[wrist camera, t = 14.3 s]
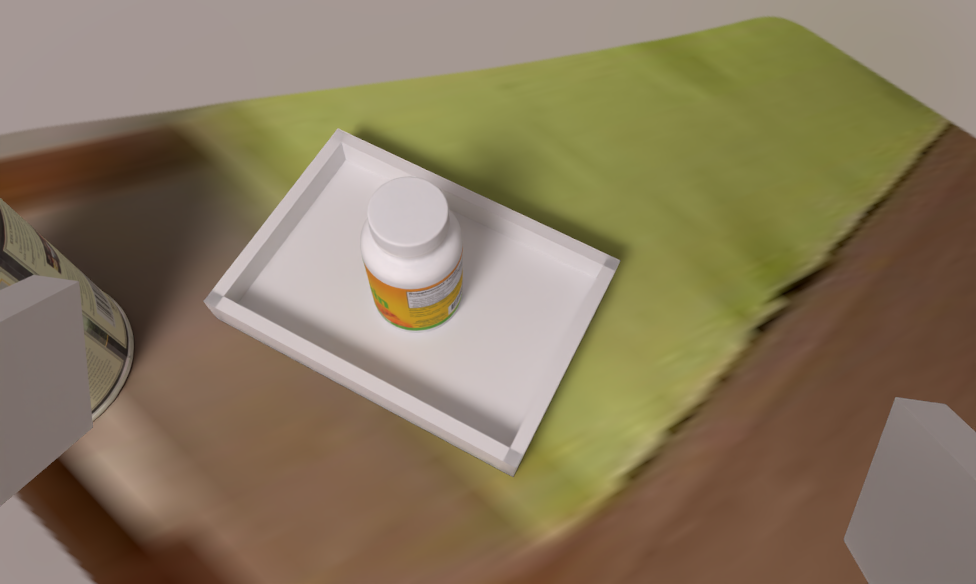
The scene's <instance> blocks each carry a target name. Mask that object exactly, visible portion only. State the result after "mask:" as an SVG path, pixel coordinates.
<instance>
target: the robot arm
mask: <svg viewBox="0 0 976 584" xmlns="http://www.w3.org/2000/svg"><path fill="white" fill-rule="evenodd" d="M92 428H93V421H92V411H91V401H90V390H89V380H88V369H87V359H86V348H85V338H84V327H83V317H82V306H81V296H80V285H79V281H74V280H66V279H59V278H52V277H45V276H38V275H32V276H30V277H28V278H26V279H24V280H21V281H19V282H17V283H15V284H13V285H11V286H8V287H6V288H4V289H2V290H0V506H1V505H2V504H4V503H5V502H6V501H7V500H8V499H10V498H11V497H12V496H13V495H14V494H15V493H17V492H18V491H19V490H20V489H21V488H22V487H24V486H25V485H26V484H27V483H28V482H29V481H31V480H32V479H33V478H34V477H35V476H36V475H38V474H39V473H40V472H41V471H42V470H44V469H45V468H46V467H47V466H48V465H49V464H51V463H52V462H53V461H54V460H55V459H56V458H58V457H59V456H60V455H61V454H62V453H63V452H65V451H66V450H67V449H68V448H69V447H71V446H72V445H73V444H74V443H75V442H76V441H78V440H79V439H80V438H81V437H82V436H83V435H85V434H86V433H87V432H88V431H89V430H90V429H92ZM844 542H845V543H846V545H847V547H848V549H849V550H850V552H851V554H852V555H853V557H854V559H855V561H856V562H857V564H858V566H859V567H860V569H861V571H862V573H863V574H864V576H865V578H866V580H867V581H868V583H869V584H976V432H975V431H974V430H973V429H972V428H971V427H970V426H968V425H967V424H966V423H965V422H964V421H963V420H962V419H961V418H960V417H959V416H958V415H957V414H956V413H955V412H953V411H952V410H951V409H950V408H949V407H948V406H947V405H946V404H941V403H934V402H926V401H919V400H912V399H905V398H898V397H895V400H894V403H893V406H892V408H891V411H890V414H889V417H888V419H887V422H886V425H885V428H884V430H883V433H882V436H881V439H880V441H879V444H878V447H877V450H876V452H875V455H874V458H873V460H872V463H871V466H870V469H869V471H868V474H867V477H866V480H865V482H864V485H863V488H862V491H861V493H860V496H859V499H858V502H857V504H856V507H855V510H854V513H853V515H852V518H851V521H850V524H849V526H848V529H847V532H846V534H845V537H844Z"/></svg>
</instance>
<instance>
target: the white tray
mask: <svg viewBox="0 0 976 584" xmlns="http://www.w3.org/2000/svg"><path fill="white" fill-rule="evenodd" d="M400 177H418V178H422V179H425V180H428V181H429V182H431V183H433V184H434V185H436V186H437V187H438V188H439V189H440V190H441V191H442V193H443V194H444V196H445V198H446V200H447V203H448V207H449V209H450V211H451V212H452V213H453V214H454V216H455V217H456V219H457V220H458V223H459V225H460V228H461V232H462V238H463V290H462V298H461V302H460V305H459V307H458V309H457V311H456V313H455V314H454V315H453V317H452V318H451V319H450V320H449V321H448V322H446V323H445V324H444V325H442V326H441V327H439V328H437V329H434V330H432V331H428V332H422V333H411V332H405V331H402V330H399V329H397V328H395V327H393V326H391V325H390V324H389V323H387V322H386V321H385V320H384V319H383V318H382V316H381V315H380V314H379V312H378V310H377V308H376V306H375V303H374V299H373V295H372V292H371V288H370V284H369V280H368V277H367V273H366V269H365V266H364V262H363V259H362V254H361V248H360V235H361V231H362V227H363V225H364V223H365V221H366V219H367V208H368V204H369V201H370V199H371V197H372V195H373V194H374V192H375V191H376V190H377V189H378V188H379V187H380V186H381V185H383V184H384V183H386V182H388V181H390V180H392V179H395V178H400ZM620 261H621V260H618V259H616V258H614V257H612V256H610V255H608V254H606V253H603V252H601V251H599V250H597V249H595V248H593V247H591V246H588V245H586V244H584V243H582V242H580V241H578V240H576V239H573V238H571V237H569V236H567V235H565V234H563V233H561V232H558V231H556V230H554V229H552V228H550V227H548V226H546V225H543V224H541V223H539V222H537V221H535V220H533V219H531V218H528V217H526V216H524V215H522V214H520V213H518V212H516V211H513V210H511V209H509V208H507V207H505V206H503V205H501V204H498V203H496V202H494V201H492V200H490V199H488V198H486V197H484V196H481V195H479V194H477V193H475V192H473V191H471V190H469V189H466V188H464V187H462V186H460V185H458V184H456V183H454V182H451V181H449V180H447V179H445V178H443V177H441V176H439V175H436V174H434V173H432V172H430V171H428V170H426V169H424V168H421V167H419V166H417V165H415V164H413V163H411V162H409V161H406V160H404V159H402V158H400V157H398V156H396V155H394V154H391V153H389V152H387V151H385V150H383V149H381V148H379V147H376V146H374V145H372V144H370V143H368V142H366V141H364V140H361V139H359V138H357V137H355V136H353V135H351V134H349V133H346V132H344V131H342V130H340V129H337V130H336V131H335V133H334V134H333V135H332V137H331V138H330V139H329V140H328V142H327V143H326V144H325V146H324V147H323V148H322V149H321V151H320V152H319V153H318V155H317V156H316V157H315V158H314V160H313V161H312V162H311V164H310V165H309V166H308V167H307V169H306V170H305V171H304V173H303V174H302V175H301V176H300V178H299V179H298V180H297V182H296V183H295V184H294V185H293V187H292V188H291V189H290V191H289V192H288V193H287V194H286V196H285V197H284V198H283V200H282V201H281V202H280V203H279V205H278V206H277V207H276V209H275V210H274V211H273V212H272V214H271V215H270V216H269V218H268V219H267V220H266V222H265V223H264V224H263V225H262V227H261V228H260V229H259V231H258V232H257V233H256V234H255V236H254V237H253V238H252V240H251V241H250V242H249V243H248V245H247V246H246V247H245V249H244V250H243V251H242V252H241V254H240V255H239V256H238V258H237V259H236V260H235V261H234V263H233V264H232V265H231V267H230V268H229V269H228V270H227V272H226V273H225V274H224V276H223V277H222V278H221V279H220V281H219V282H218V283H217V285H216V286H215V287H214V288H213V290H212V291H211V292H210V294H209V295H208V296H207V297H206V299H205V300H204V303H205V304H206V305H207V306H208V308H209V309H210V310H211V311H212V313H213V314H214V315H215V316H216V318H217V319H219V320H221V321H223V322H225V323H227V324H228V325H230V326H232V327H234V328H236V329H238V330H240V331H241V332H243V333H245V334H247V335H249V336H251V337H253V338H255V339H256V340H258V341H260V342H262V343H264V344H266V345H268V346H269V347H271V348H273V349H275V350H277V351H279V352H281V353H282V354H284V355H286V356H288V357H290V358H292V359H294V360H296V361H297V362H299V363H301V364H303V365H305V366H307V367H309V368H310V369H312V370H314V371H316V372H318V373H320V374H322V375H324V376H325V377H327V378H329V379H331V380H333V381H335V382H337V383H338V384H340V385H342V386H344V387H346V388H348V389H350V390H351V391H353V392H355V393H357V394H359V395H361V396H363V397H365V398H366V399H368V400H370V401H372V402H374V403H376V404H378V405H379V406H381V407H383V408H385V409H387V410H389V411H391V412H392V413H394V414H396V415H398V416H400V417H402V418H404V419H406V420H407V421H409V422H411V423H413V424H415V425H417V426H419V427H420V428H422V429H424V430H426V431H428V432H430V433H432V434H433V435H435V436H437V437H439V438H441V439H443V440H445V441H447V442H448V443H450V444H452V445H454V446H456V447H458V448H460V449H461V450H463V451H465V452H467V453H469V454H471V455H473V456H474V457H476V458H478V459H480V460H482V461H484V462H486V463H488V464H489V465H491V466H493V467H495V468H497V469H499V470H501V471H502V472H504V473H506V474H508V475H510V476H512V477H513V476H514V474H515V472H516V470H517V468H518V466H519V464H520V462H521V460H522V458H523V456H524V454H525V452H526V450H527V448H528V446H529V444H530V442H531V440H532V438H533V436H534V434H535V432H536V430H537V428H538V426H539V424H540V422H541V420H542V418H543V416H544V414H545V412H546V410H547V408H548V406H549V404H550V402H551V400H552V398H553V396H554V394H555V392H556V390H557V388H558V386H559V384H560V382H561V380H562V378H563V376H564V374H565V372H566V370H567V368H568V366H569V364H570V362H571V360H572V358H573V356H574V354H575V352H576V350H577V348H578V346H579V344H580V342H581V340H582V338H583V336H584V334H585V332H586V330H587V328H588V326H589V324H590V322H591V320H592V318H593V316H594V314H595V312H596V310H597V308H598V306H599V304H600V302H601V300H602V298H603V296H604V294H605V292H606V290H607V288H608V286H609V284H610V282H611V280H612V278H613V276H614V274H615V271H616V269H617V267H618V265H619V263H620Z"/></svg>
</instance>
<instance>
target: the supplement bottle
mask: <svg viewBox="0 0 976 584" xmlns="http://www.w3.org/2000/svg"><path fill="white" fill-rule="evenodd" d="M360 248H361V254H362V259H363V262H364V266H365V269H366V273H367V277H368V280H369V284H370V288H371V292H372V295H373V299H374V303H375V306H376V308H377V310H378V312H379V314H380V315H381V316H382V318H383V319H384V320H385V321H386V322H387V323H389V324H390V325H391V326H393V327H395V328H397V329H399V330H402V331H405V332H411V333H422V332H428V331H432V330H434V329H437V328H439V327H441V326H442V325H444V324H445V323H446V322H448V321H449V320H450V319H451V318H452V317H453V315H454V314H455V313H456V311H457V309H458V307H459V305H460V302H461V298H462V290H463V238H462V232H461V228H460V225H459V223H458V220H457V219H456V217H455V216H454V214H453V213H452V212H451V211H450V209H449V207H448V203H447V200H446V198H445V196H444V194H443V193H442V191H441V190H440V189H439V188H438V187H437V186H436V185H434V184H433V183H431V182H429V181H428V180H425V179H422V178H418V177H400V178H395V179H392V180H390V181H388V182H386V183H384V184H383V185H381V186H380V187H379V188H378V189H377V190H376V191H375V192H374V194H373V195H372V197H371V199H370V201H369V204H368V208H367V219H366V221H365V223H364V225H363V227H362V231H361V235H360Z"/></svg>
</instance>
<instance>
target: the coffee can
mask: <svg viewBox="0 0 976 584" xmlns="http://www.w3.org/2000/svg"><path fill="white" fill-rule="evenodd" d="M32 275H38V276H45V277H52V278H59V279H66V280H74V281H79V285H80V296H81V306H82V317H83V327H84V338H85V348H86V359H87V369H88V380H89V390H90V401H91V411H92V421H94V420H95V419H96V418H98V417H99V416H100V415H101V414H102V413H103V412H104V411H105V410H106V409H107V407H108V406H109V405H110V404H111V403H112V402H113V401H114V400H115V398H116V397H117V395H118V393H119V391H120V389H121V388H122V386H123V384H124V383H125V380H126V378H127V376H128V374H129V371H130V368H131V364H132V360H133V352H134V336H133V333H132V329H131V326H130V323H129V320H128V318H127V316H126V314H125V313H124V311H123V310H122V308H121V307H120V306H119V304H118V303H117V302H116V301H115V300H114V299H113V298H111V297H110V296H109V295H108V294H106V293H105V292H103V291H102V290H101V289H100V288H99V287H97V286H96V285H95V284H94V283H93V282H92V281H91V280H90V279H89V278H88V277H87V276H86V275H84V274H83V273H82V272H81V271H80V270H79V269H78V268H77V267H75V266H74V265H73V264H72V263H71V262H70V261H69V260H68V259H67V258H66V257H64V256H63V255H62V254H61V253H60V252H59V251H58V250H57V249H56V248H55V247H54V246H53V245H51V244H50V243H49V242H48V241H47V240H46V239H45V238H44V237H43V236H42V235H40V234H39V233H38V232H37V231H36V230H35V229H34V228H33V227H32V226H31V225H29V224H28V223H27V222H26V221H25V220H24V219H23V218H22V217H20V216H19V215H18V214H17V213H16V212H15V211H14V210H13V209H12V208H11V207H9V206H8V205H7V204H6V203H5V202H4V201H3V200H2V199H1V198H0V290H2V289H4V288H6V287H8V286H11V285H13V284H15V283H17V282H19V281H21V280H24V279H26V278H28V277H30V276H32Z"/></svg>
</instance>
